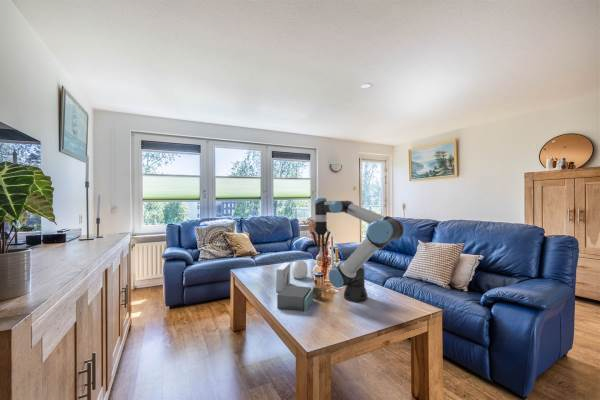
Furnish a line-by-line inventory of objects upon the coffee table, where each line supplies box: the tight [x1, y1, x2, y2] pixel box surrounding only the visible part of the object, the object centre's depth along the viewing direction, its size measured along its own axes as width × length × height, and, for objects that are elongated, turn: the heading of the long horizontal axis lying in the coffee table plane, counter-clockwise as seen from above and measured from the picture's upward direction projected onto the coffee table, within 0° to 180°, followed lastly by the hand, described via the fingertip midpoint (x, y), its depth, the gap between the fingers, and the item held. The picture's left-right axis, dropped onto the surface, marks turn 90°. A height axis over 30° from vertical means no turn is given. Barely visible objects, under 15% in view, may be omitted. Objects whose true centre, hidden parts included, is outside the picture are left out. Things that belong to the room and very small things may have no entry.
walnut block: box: [312, 285, 322, 300], centre depth 172 cm, size 4×4×7 cm
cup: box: [291, 259, 309, 280], centre depth 217 cm, size 13×13×14 cm
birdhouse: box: [303, 288, 314, 312], centre depth 161 cm, size 16×18×7 cm
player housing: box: [276, 285, 312, 312], centre depth 162 cm, size 16×18×8 cm
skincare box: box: [275, 262, 291, 293], centre depth 193 cm, size 21×6×16 cm, turn 168°
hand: (321, 256), depth 176 cm, fingers closed
